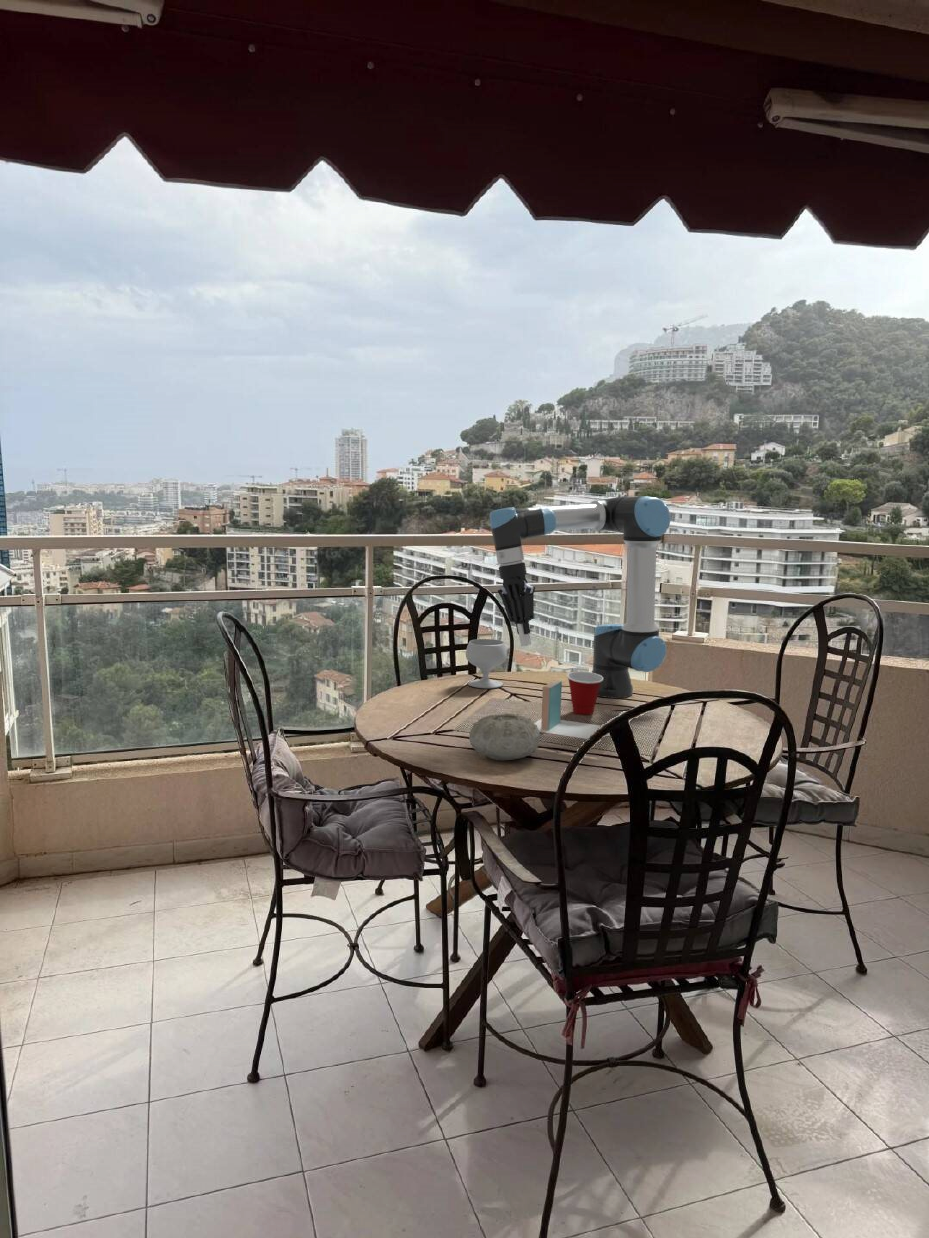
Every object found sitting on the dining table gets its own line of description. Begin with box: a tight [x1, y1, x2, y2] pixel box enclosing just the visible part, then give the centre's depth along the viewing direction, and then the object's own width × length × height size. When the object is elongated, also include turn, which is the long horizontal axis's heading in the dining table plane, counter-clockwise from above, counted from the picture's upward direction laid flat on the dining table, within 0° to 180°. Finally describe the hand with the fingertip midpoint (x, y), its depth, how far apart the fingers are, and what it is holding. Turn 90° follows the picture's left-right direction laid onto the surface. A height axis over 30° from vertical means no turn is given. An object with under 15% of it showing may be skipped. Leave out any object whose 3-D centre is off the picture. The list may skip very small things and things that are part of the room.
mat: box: [533, 717, 601, 740], centre depth 227 cm, size 20×14×1 cm
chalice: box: [465, 638, 508, 689], centre depth 277 cm, size 14×14×15 cm
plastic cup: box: [566, 670, 603, 716], centre depth 243 cm, size 11×11×12 cm
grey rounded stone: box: [468, 712, 541, 761], centre depth 205 cm, size 18×18×10 cm
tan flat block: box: [541, 679, 563, 730], centre depth 229 cm, size 2×9×12 cm, turn 154°
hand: (526, 645), depth 231 cm, fingers closed
